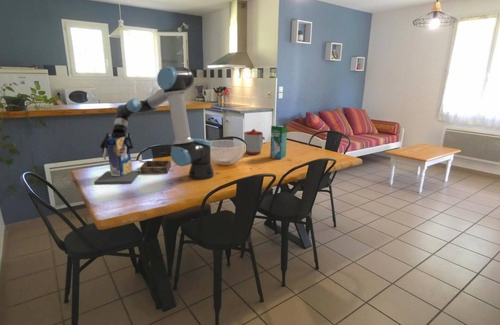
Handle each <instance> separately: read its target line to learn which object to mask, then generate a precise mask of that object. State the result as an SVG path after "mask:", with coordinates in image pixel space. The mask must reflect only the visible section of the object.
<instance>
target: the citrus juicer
mask: <svg viewBox="0 0 500 325" xmlns="http://www.w3.org/2000/svg"><path fill="white" fill-rule="evenodd" d="M243 136H244V137H243V143H244V142H245V143H246V144H247V145H246V151H245V153H246V154H248V155H256V154H258V155H259V153H260V154H261V152H262V150H263V142H264V141H265V140H266V138H265V136H263V132H262V131H257V130H256V129H255V128H253V129H252V130H250V131H244V132H243Z"/></svg>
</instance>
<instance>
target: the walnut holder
mask: <svg viewBox="0 0 500 325" xmlns="http://www.w3.org/2000/svg"><path fill="white" fill-rule="evenodd" d="M171 167H172V161H171V160H145V162H143V163H142V165H141V166H140V167H139V171H140V174H139V175H151V174H152V175H155V174H158V175H161V174H168V172H169V171H170V169H171Z"/></svg>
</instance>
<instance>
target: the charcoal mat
mask: <svg viewBox="0 0 500 325" xmlns="http://www.w3.org/2000/svg"><path fill="white" fill-rule="evenodd" d="M139 175H141V174H140V170H132V172H130V173H127V174H125V175H123V176H111V171H110V170H107V171H105V172H104V173H103V174H101V176H99V177H98V178H97V179H96V180H95V181H94V182H93V184H94V185H123V184H124V185H125V184H128V185H129V184H133V182H134V181H135V180H136V178H137V177H139Z"/></svg>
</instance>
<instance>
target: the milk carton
mask: <svg viewBox="0 0 500 325" xmlns="http://www.w3.org/2000/svg"><path fill="white" fill-rule="evenodd" d="M270 129H271V131H270V151H269V154H270V155H269V158H270V157H274V158H273V159H275V158H279V159H278V160H282V159H284V158H283V157H285V156H286V154H287V137H288V127H284V126H283V125H277V126H275V125H271V126H270ZM281 158H282V159H281ZM285 158H286V157H285Z"/></svg>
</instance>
